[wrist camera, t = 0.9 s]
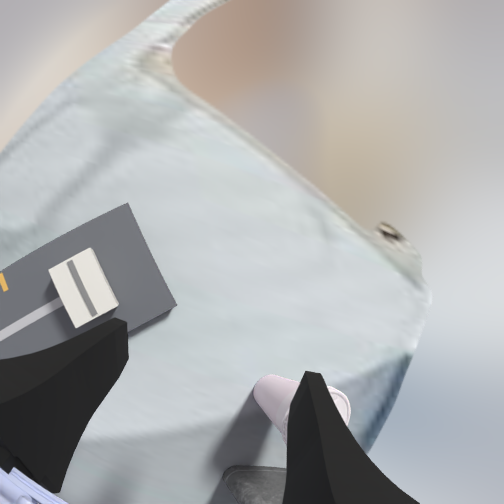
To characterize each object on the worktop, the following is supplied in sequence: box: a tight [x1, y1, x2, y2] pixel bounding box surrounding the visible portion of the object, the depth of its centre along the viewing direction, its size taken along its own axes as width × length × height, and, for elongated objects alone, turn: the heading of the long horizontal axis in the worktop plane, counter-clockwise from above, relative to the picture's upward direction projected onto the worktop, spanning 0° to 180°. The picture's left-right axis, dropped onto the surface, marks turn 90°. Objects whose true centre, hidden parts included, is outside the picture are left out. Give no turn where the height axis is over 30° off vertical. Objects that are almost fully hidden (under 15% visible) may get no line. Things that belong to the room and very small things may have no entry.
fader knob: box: [48, 248, 119, 328], centre depth 21 cm, size 4×5×2 cm
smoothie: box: [253, 375, 351, 445], centre depth 23 cm, size 6×6×14 cm
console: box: [0, 203, 177, 359], centre depth 22 cm, size 20×10×2 cm, turn 118°
